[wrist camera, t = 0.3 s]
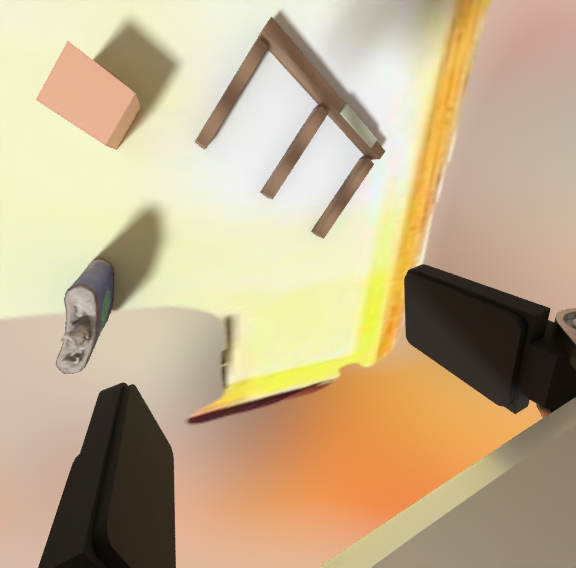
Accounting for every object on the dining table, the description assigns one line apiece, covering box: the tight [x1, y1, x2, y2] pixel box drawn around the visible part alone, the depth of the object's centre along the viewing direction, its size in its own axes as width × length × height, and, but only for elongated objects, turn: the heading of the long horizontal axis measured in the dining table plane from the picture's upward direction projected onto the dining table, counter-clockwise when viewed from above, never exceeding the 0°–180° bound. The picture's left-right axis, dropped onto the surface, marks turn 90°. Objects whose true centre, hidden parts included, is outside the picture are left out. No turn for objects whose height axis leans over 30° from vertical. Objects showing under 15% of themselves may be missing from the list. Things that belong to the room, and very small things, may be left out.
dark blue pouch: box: [56, 259, 114, 374], centre depth 29 cm, size 9×3×11 cm, turn 162°
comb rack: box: [195, 17, 385, 239], centre depth 35 cm, size 14×20×3 cm
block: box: [36, 41, 141, 150], centre depth 25 cm, size 5×5×6 cm
